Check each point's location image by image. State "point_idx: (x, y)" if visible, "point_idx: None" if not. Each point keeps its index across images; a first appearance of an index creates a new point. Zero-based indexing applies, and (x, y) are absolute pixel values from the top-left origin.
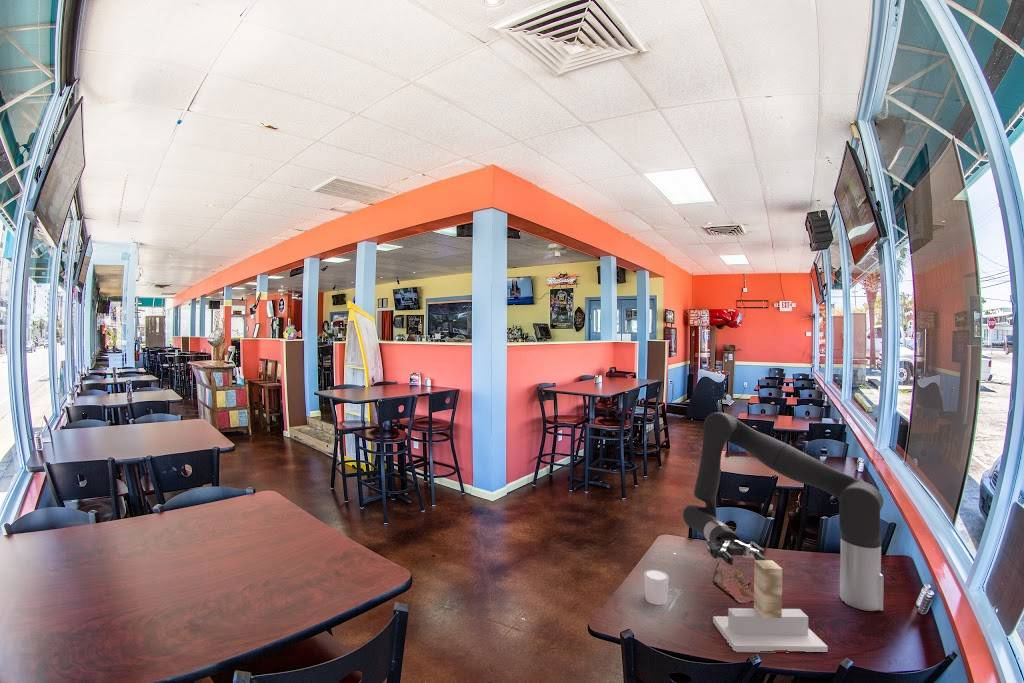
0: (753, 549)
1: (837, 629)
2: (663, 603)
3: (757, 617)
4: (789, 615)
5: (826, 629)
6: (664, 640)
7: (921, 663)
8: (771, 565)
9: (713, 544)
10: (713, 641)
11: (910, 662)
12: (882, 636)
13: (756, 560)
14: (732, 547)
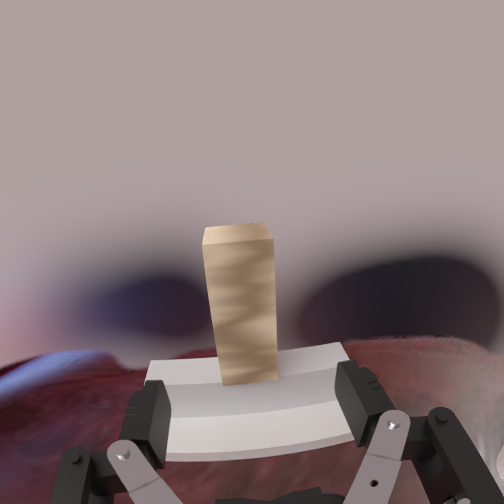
0: (134, 468)
1: (66, 430)
2: (499, 452)
3: (283, 351)
4: (194, 363)
5: (88, 433)
6: (454, 351)
7: (40, 357)
8: (228, 230)
9: (463, 486)
10: (376, 374)
11: (50, 359)
12: (16, 402)
13: (266, 238)
14: (306, 499)
